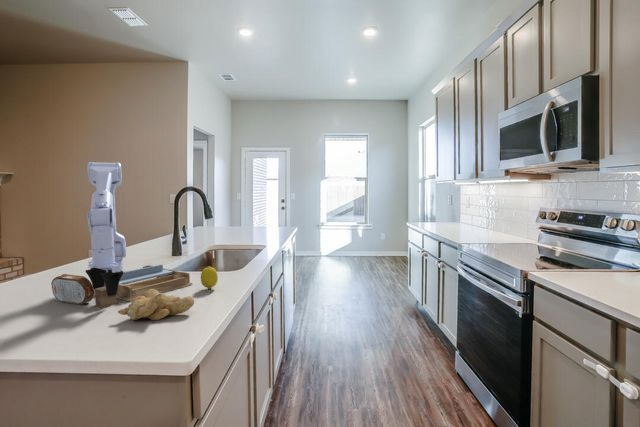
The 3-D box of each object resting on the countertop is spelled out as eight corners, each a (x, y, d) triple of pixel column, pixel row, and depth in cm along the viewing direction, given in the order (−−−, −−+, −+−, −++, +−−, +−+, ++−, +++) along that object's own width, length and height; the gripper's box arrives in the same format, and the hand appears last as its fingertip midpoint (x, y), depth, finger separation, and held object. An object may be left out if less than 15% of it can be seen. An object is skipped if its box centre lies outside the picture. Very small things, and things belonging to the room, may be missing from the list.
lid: (105, 282, 120) (105, 273, 120) (159, 270, 137) (159, 262, 137) (119, 285, 116) (118, 276, 116) (173, 273, 132) (172, 264, 132)
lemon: (213, 291, 119) (212, 268, 119) (197, 291, 121) (197, 267, 120) (220, 287, 125) (220, 264, 124) (206, 286, 126) (205, 264, 125)
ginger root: (109, 313, 96) (116, 283, 97) (166, 311, 108) (171, 285, 109) (134, 329, 86) (141, 296, 87) (193, 326, 98) (199, 296, 99)
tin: (96, 303, 109) (93, 276, 108) (86, 306, 106) (83, 279, 105) (61, 298, 114) (58, 272, 113) (51, 302, 111) (47, 275, 110)
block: (95, 305, 107) (94, 288, 107) (109, 301, 111) (108, 285, 110) (102, 307, 105) (101, 290, 105) (116, 303, 108) (115, 287, 108)
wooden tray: (99, 292, 120) (99, 280, 120) (161, 278, 139) (161, 267, 139) (130, 301, 110) (129, 288, 110) (192, 284, 129) (191, 273, 129)
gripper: (76, 248, 107) (79, 293, 108) (101, 252, 99) (103, 300, 100) (101, 245, 113) (103, 287, 114) (126, 248, 105) (128, 294, 106)
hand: (105, 293), depth 108 cm, fingers open, 7 cm apart
